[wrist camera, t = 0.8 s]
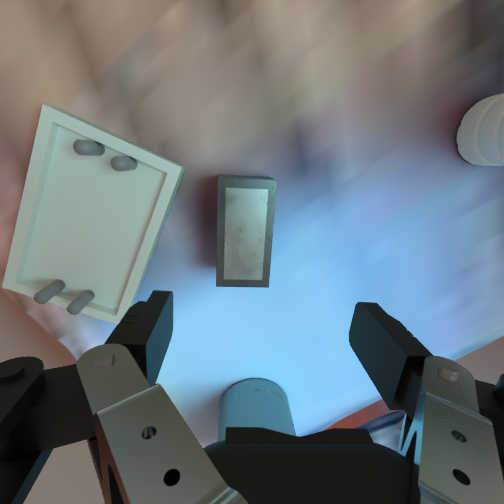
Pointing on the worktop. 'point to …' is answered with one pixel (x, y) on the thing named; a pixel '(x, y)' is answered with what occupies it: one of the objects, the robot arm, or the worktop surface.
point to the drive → (244, 230)
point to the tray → (88, 217)
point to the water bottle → (483, 133)
